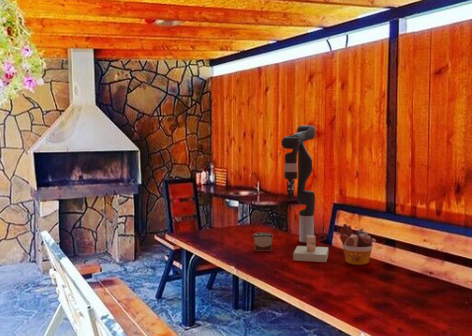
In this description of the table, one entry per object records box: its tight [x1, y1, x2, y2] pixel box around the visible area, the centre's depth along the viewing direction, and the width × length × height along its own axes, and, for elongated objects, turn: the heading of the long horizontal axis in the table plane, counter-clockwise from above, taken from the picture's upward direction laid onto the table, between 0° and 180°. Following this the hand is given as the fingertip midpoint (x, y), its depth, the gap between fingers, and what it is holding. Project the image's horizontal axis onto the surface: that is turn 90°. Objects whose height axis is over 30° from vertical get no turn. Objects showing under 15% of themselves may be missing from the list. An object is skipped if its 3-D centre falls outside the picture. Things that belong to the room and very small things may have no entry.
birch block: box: [306, 235, 316, 251], centre depth 271 cm, size 4×4×8 cm
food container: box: [252, 232, 274, 252], centre depth 291 cm, size 12×6×10 cm, turn 84°
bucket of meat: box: [339, 223, 377, 266], centre depth 259 cm, size 20×16×20 cm
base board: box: [292, 245, 329, 263], centre depth 272 cm, size 18×18×4 cm
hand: (290, 198), depth 283 cm, fingers open, 8 cm apart
